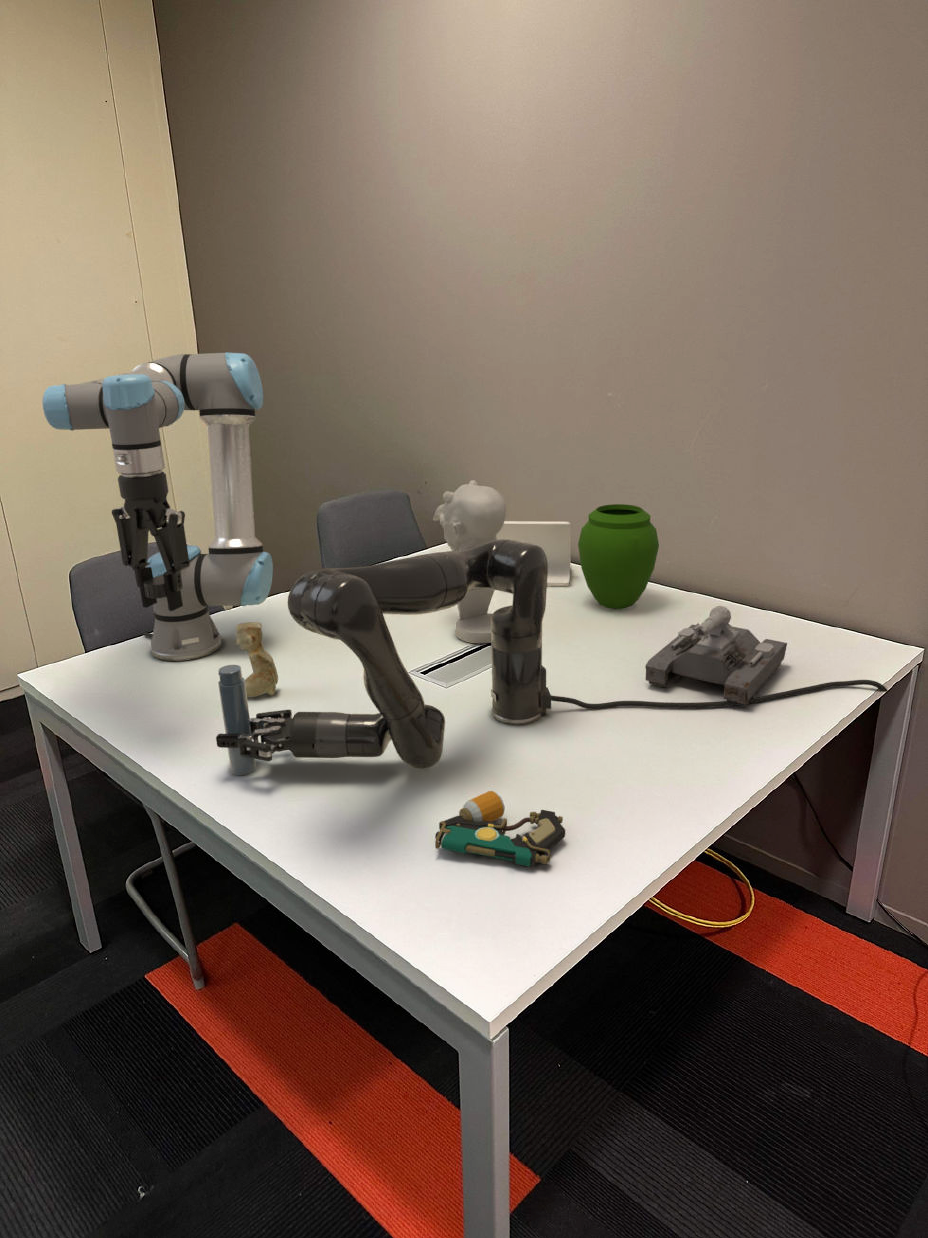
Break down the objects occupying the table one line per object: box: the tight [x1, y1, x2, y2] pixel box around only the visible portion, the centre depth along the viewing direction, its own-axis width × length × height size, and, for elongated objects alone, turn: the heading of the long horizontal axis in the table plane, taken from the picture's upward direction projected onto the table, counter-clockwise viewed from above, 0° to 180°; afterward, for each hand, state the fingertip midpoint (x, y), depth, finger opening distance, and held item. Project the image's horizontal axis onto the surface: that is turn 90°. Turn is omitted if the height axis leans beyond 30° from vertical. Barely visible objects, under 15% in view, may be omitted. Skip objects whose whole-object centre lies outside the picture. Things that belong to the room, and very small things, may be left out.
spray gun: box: [434, 790, 566, 867], centre depth 122 cm, size 4×17×15 cm
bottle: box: [217, 664, 257, 776], centre depth 141 cm, size 4×4×18 cm
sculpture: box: [235, 621, 279, 698], centre depth 169 cm, size 6×7×15 cm
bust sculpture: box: [432, 479, 507, 644], centre depth 196 cm, size 16×24×35 cm, turn 28°
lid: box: [143, 576, 167, 598], centre depth 147 cm, size 5×5×2 cm
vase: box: [577, 503, 660, 610], centre depth 210 cm, size 20×20×24 cm
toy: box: [645, 605, 788, 706], centre depth 170 cm, size 25×20×15 cm
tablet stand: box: [496, 520, 572, 587], centre depth 236 cm, size 18×25×17 cm
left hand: (162, 606), depth 148 cm, fingers closed on lid, 5 cm apart
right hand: (222, 733), depth 142 cm, fingers closed on bottle, 4 cm apart
